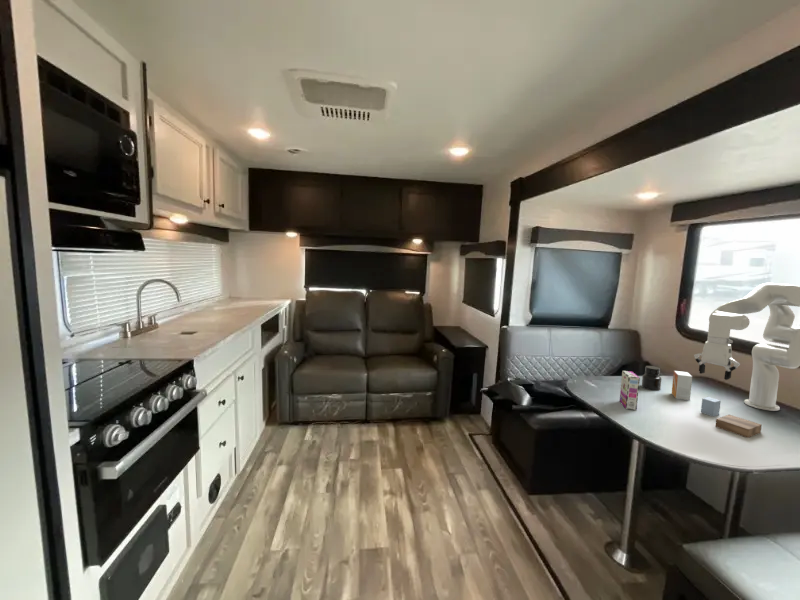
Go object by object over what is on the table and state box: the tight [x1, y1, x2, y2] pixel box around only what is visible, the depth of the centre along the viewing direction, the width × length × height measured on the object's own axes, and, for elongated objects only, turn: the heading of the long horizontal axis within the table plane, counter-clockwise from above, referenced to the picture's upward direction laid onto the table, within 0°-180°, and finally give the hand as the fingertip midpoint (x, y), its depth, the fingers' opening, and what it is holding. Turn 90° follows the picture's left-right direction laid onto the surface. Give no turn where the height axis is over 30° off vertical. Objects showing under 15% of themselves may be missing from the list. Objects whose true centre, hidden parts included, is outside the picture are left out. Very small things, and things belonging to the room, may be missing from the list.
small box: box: [671, 370, 693, 401], centre depth 192 cm, size 8×6×13 cm
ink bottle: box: [641, 365, 662, 391], centre depth 206 cm, size 10×9×12 cm
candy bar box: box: [619, 370, 641, 411], centre depth 179 cm, size 11×5×16 cm, turn 163°
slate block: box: [700, 396, 722, 417], centre depth 172 cm, size 5×5×7 cm
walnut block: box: [714, 414, 762, 439], centre depth 156 cm, size 11×11×4 cm
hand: (714, 376), depth 170 cm, fingers open, 9 cm apart
